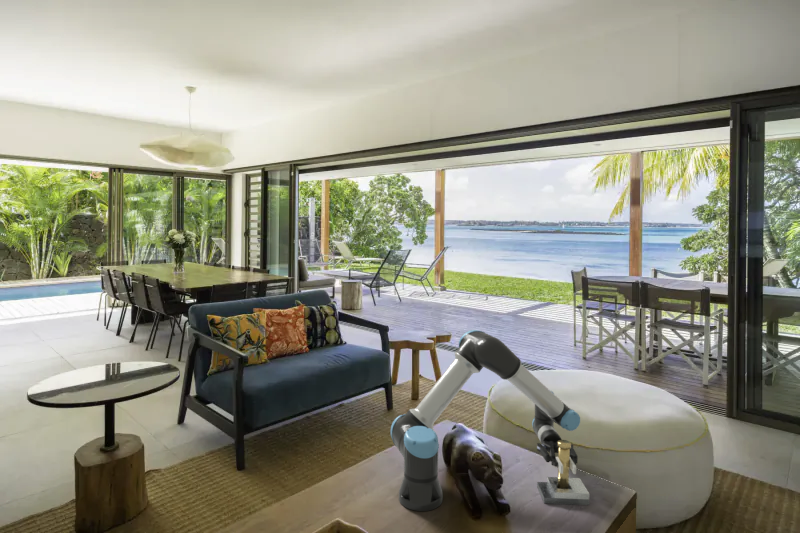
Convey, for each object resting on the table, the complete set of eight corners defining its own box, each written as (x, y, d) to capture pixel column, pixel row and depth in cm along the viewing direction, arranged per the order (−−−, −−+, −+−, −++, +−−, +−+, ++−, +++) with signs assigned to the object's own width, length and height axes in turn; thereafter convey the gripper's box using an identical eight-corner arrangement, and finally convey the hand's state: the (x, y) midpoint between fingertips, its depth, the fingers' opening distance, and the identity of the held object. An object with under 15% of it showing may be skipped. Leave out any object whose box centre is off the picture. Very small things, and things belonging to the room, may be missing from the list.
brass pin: (558, 490, 159) (559, 445, 158) (554, 483, 164) (556, 439, 162) (571, 490, 159) (572, 445, 158) (567, 483, 163) (568, 439, 162)
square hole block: (544, 503, 157) (544, 491, 157) (537, 487, 167) (537, 476, 167) (589, 505, 156) (589, 493, 156) (579, 488, 166) (579, 478, 166)
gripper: (571, 449, 178) (593, 481, 155) (528, 447, 179) (543, 479, 156) (572, 430, 178) (594, 460, 154) (528, 429, 179) (543, 458, 155)
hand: (568, 469), depth 155 cm, fingers closed on brass pin, 3 cm apart
